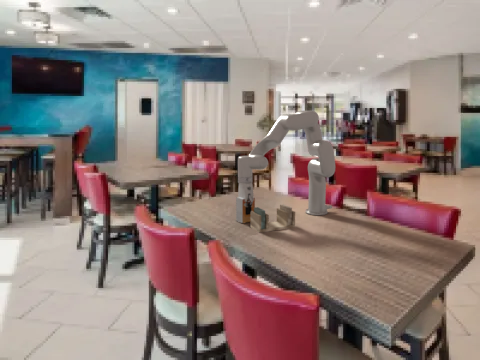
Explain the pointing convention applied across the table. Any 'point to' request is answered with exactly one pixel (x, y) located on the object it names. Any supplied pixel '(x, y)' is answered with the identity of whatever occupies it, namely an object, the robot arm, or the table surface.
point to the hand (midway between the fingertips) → (245, 212)
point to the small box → (243, 210)
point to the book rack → (283, 222)
